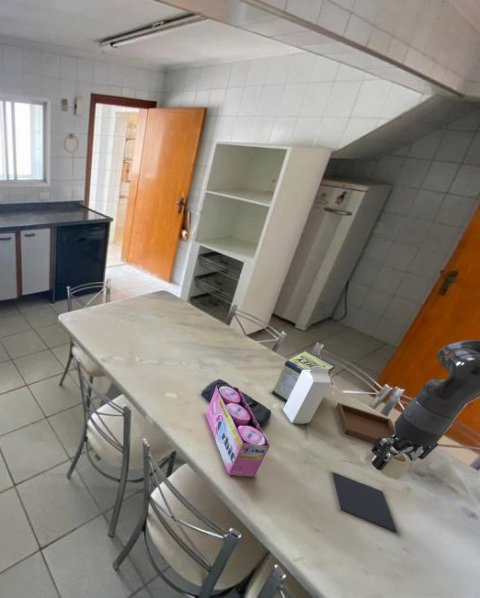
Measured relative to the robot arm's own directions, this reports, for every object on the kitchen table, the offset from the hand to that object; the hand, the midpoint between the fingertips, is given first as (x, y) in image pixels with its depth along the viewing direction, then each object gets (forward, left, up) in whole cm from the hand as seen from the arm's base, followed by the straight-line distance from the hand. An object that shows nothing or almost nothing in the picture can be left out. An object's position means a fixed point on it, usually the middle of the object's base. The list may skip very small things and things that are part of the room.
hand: (387, 466), depth 84 cm
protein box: (+13, -39, -14) cm, 43 cm away
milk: (+14, -26, -14) cm, 33 cm away
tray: (-8, -32, -14) cm, 36 cm away
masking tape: (0, 0, -1) cm, 1 cm away
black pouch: (+34, -21, -14) cm, 42 cm away
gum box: (+35, -1, -14) cm, 38 cm away
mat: (0, 0, -14) cm, 14 cm away
